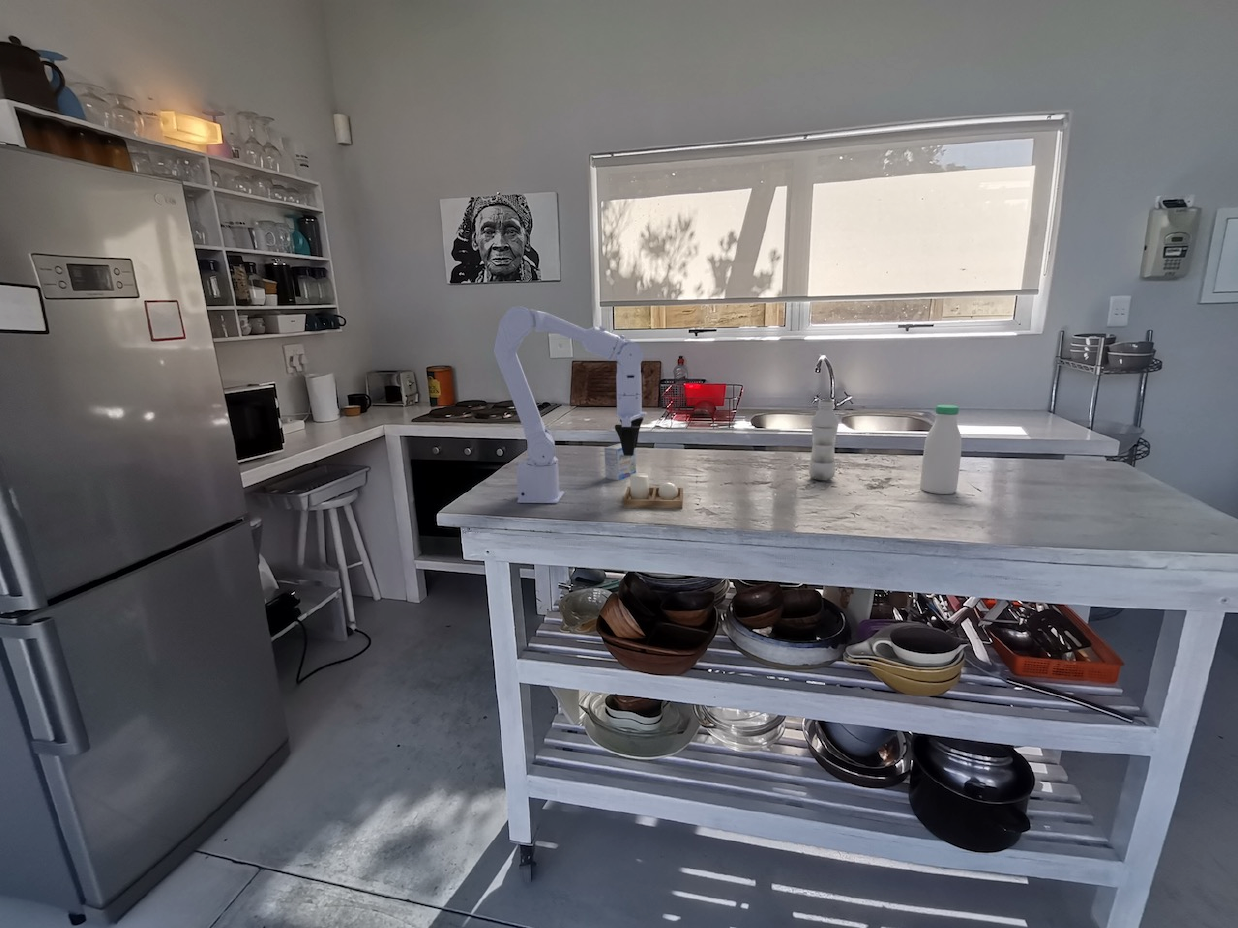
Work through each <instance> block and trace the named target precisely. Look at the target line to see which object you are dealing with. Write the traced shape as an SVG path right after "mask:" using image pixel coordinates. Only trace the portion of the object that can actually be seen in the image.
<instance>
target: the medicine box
mask: <svg viewBox="0 0 1238 928" xmlns="http://www.w3.org/2000/svg"><path fill="white" fill-rule="evenodd" d="M636 448H637V447H636ZM636 448H634V453H633V456H624V454H623V451H622V446H621V442H620V443H616V444H613V445H609V446H607V447H604V470H605V471H604V472H605V474H604V476H605V479H608V480H609V479H610V480H613V481H614V480H615V481H620V480H623V479H625V478H630V475H631V474H634V473H637V463H636V462H637V461H636V460H637V458H636V457H637V456H636V455H637V454H636V453H637V451H636Z"/></svg>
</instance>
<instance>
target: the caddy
mask: <svg viewBox="0 0 1238 928" xmlns="http://www.w3.org/2000/svg"><path fill="white" fill-rule="evenodd" d="M659 488H660V486H659V487H658V486H657V487H654V486H652V487H651V486H649V500H637V499H631V494H630V486H627V488H626V491H625V494H624V496H623V499H622V507H623V509H624V508H625V509H626V508H627V509H632V508H633V509H678V510H679V509H680V510H682V509H683V502H684V501H683V500H684V488H683V487H677V489H678V495H677V497H676V498H675V499H674V500H662V499H661V498H660V496H659Z"/></svg>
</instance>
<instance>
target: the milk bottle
mask: <svg viewBox="0 0 1238 928" xmlns="http://www.w3.org/2000/svg"><path fill="white" fill-rule="evenodd" d="M959 412H960V407H959V406H958V405H953V404H938V405H936V407H935V414H934V415H935V420H934V423H933V425H932V426H931V428H930V429H929V430H928V432H927V434H926V438H925V441H924V446H923V455H922V462H921V463H922V464H921V472H920V481H919V482H920V483H919V488H920V490H922V491H924V492H927V493H931V494H938V495H952V494H954V493H956V492H957V489H958V481H959V477H960V476H959V474H960V466H961V458H962V449H963V448H962V447H963V440H962V435H961V433H960V432H961V431H960V430H959V427H958V423H957V418H958V417H959Z"/></svg>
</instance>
